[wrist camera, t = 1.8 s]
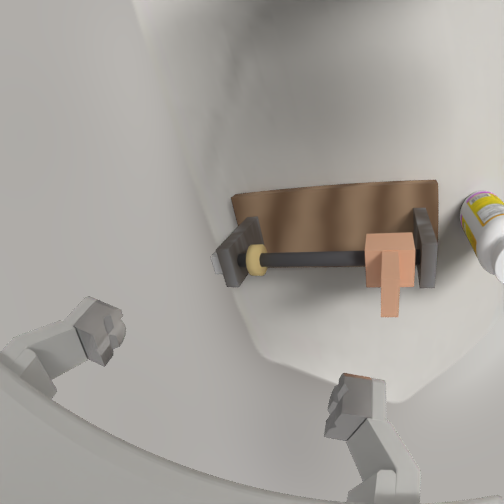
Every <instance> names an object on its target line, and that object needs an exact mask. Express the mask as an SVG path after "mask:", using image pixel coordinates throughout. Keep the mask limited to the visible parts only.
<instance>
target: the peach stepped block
mask: <svg viewBox="0 0 504 504" xmlns="http://www.w3.org/2000/svg"><path fill="white" fill-rule="evenodd" d="M365 266H366V287H381V317H398V312H399V293H400V287H414V275H415V245H414V239H413V234H412V232H407V233H375V234H366V243H365Z"/></svg>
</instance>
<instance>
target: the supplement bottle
mask: <svg viewBox="0 0 504 504" xmlns="http://www.w3.org/2000/svg"><path fill="white" fill-rule="evenodd" d="M460 222H461V226H462V228H463V230H464V232H465V234H466V236H467V238H468V240H469V242H470V244H471V246H472V248H473V250H474V252H475V254H476V256H477V258H478V260H479V262H480V264H481V266H482V267H483V268H484V269H485V270H486V271H487V272H489V273H491V274H493V275H495V276H496V277H497V279H498V280H499V281H500V282H501V283H503V284H504V203H503V202H502V201H501V200H500V199H499V198H498V197H497V196H496V195H495V194H493V193H491V192H489V191H477V192H474V193H472V194H471V195H470V196H468V197H467V199H466V200H465V201H464V203H463V205H462V207H461V211H460Z"/></svg>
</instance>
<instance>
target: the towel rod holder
mask: <svg viewBox="0 0 504 504" xmlns="http://www.w3.org/2000/svg"><path fill="white" fill-rule="evenodd" d="M231 200H232V204H233V208H234V212H235V216H236V220H237V223H238V227H237V228H236V229H235V230H234V231H233V232H232V233H231V234H230V236H229V237H228V238H227V239H226V240H225V241H224V242H223V243H222V244H221V245H220V246H219V247H218V248H217V249H216V253H217V256H218V259H219V263H220V266H221V269H222V272H223V275H224V279H225V282H226V285H227V287H239V286H240V285H241V283H242V282H243V281H244V279H245V278H246V276H247V275H248V273H249V272H248V270H247V267H239V265H238V262H237V258H238V255H239V254H242V253H247V250H248V248H249V246H250V245H257V244H263V245H264V246H265V248H266V250H267V253H284V252H326V251H365V243H366V234H375V233H407V232H412V234H413V239H414V245H415V249H420V265H417V270H418V277H419V285H420V288H434V287H435V277H436V265H437V249H438V183H437V181H436V180H415V181H390V182H371V183H354V184H339V185H326V186H313V187H302V188H291V189H280V190H270V191H261V192H252V193H243V194H235V195H234V196H233V197H231ZM322 267H362V266H322Z"/></svg>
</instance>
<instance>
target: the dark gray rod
mask: <svg viewBox="0 0 504 504" xmlns="http://www.w3.org/2000/svg"><path fill="white" fill-rule="evenodd" d="M210 258H211V261H212V264H213V267H214V271H215V273H216V274H223V272H222V269H221V266H220V263H219V259H218V256H217V253H216V251H215V252H214V253H213V254H212V256H211V257H210ZM237 262H238V265H239V267H247V270H248V272H249V274H250V275H252V276H263V275H264V274H265V273H266V271H267V267H322V266H365V251H326V252H284V253H267V250H266V248H265V246H264V245H263V244H257V245H250V246H249V248H248V250H247V253H242V254H239V255H238V258H237ZM415 265H420V249H415Z"/></svg>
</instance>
